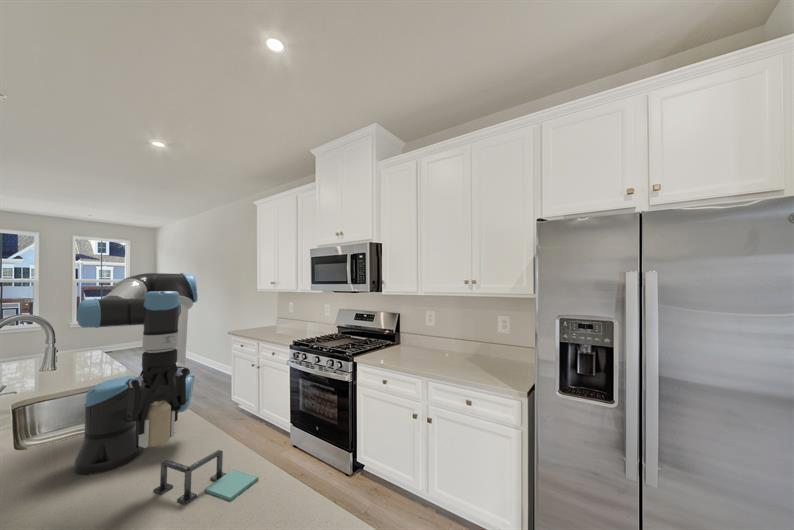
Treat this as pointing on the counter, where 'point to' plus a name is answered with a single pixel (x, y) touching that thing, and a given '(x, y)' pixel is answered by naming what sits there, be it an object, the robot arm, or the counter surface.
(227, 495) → the pad
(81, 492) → the counter surface
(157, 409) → the candle
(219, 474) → the handrail
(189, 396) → the robot arm
